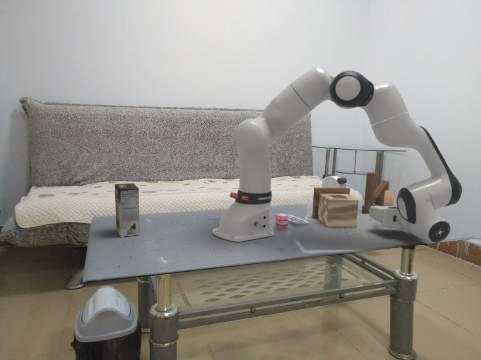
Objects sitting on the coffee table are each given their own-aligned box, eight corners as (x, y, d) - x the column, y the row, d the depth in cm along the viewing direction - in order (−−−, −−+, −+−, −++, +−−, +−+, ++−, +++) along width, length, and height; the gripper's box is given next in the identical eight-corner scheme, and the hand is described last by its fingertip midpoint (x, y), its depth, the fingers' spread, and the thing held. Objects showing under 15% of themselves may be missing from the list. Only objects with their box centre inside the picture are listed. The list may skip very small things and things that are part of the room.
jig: (374, 237, 125) (378, 200, 123) (329, 238, 123) (332, 200, 121) (347, 219, 147) (350, 187, 145) (309, 219, 145) (311, 187, 143)
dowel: (388, 229, 134) (392, 192, 132) (380, 227, 137) (383, 190, 135) (392, 228, 137) (395, 191, 135) (384, 226, 139) (387, 190, 137)
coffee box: (115, 230, 125) (114, 183, 123) (134, 227, 128) (133, 182, 126) (119, 237, 117) (118, 188, 115) (140, 235, 120) (139, 187, 118)
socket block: (356, 226, 134) (358, 199, 132) (327, 226, 132) (329, 199, 131) (344, 218, 144) (346, 193, 143) (317, 218, 143) (319, 193, 141)
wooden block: (386, 213, 159) (390, 172, 156) (367, 215, 154) (370, 173, 151) (380, 211, 162) (383, 171, 159) (361, 213, 158) (364, 172, 155)
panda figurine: (350, 210, 162) (353, 177, 159) (331, 213, 156) (333, 178, 154) (331, 204, 172) (334, 173, 170) (313, 207, 167) (315, 174, 164)
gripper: (439, 208, 122) (415, 199, 136) (381, 208, 120) (363, 199, 133) (437, 226, 123) (414, 215, 137) (380, 226, 121) (361, 215, 134)
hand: (388, 207), depth 135 cm, fingers open, 8 cm apart
